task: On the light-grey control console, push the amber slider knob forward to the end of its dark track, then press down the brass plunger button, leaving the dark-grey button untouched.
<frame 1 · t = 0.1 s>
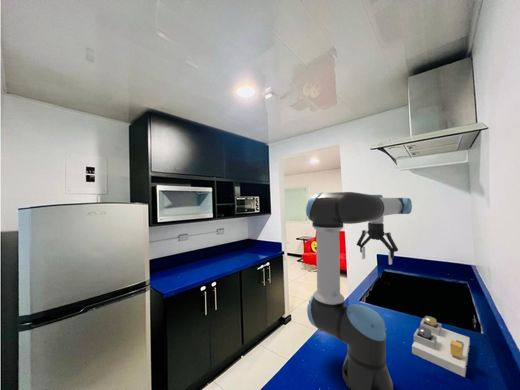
hand: (376, 261, 113), 28 cm above the counter, fingers open, 13 cm apart
grey button: (424, 333, 85), point 6 cm above the counter, slide at 0.0 cm
brass button: (430, 321, 93), point 6 cm above the counter, slide at 0.0 cm
console: (441, 348, 85), on the counter
slider knob: (456, 348, 77), point 5 cm above the counter, slide at 0.0 cm
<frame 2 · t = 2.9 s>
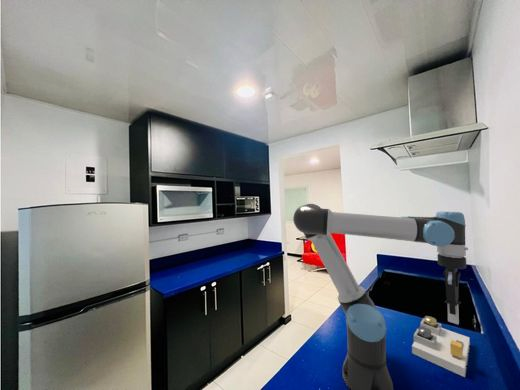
hand: (453, 322, 73), 18 cm above the counter, fingers closed
nothing on the counter moved.
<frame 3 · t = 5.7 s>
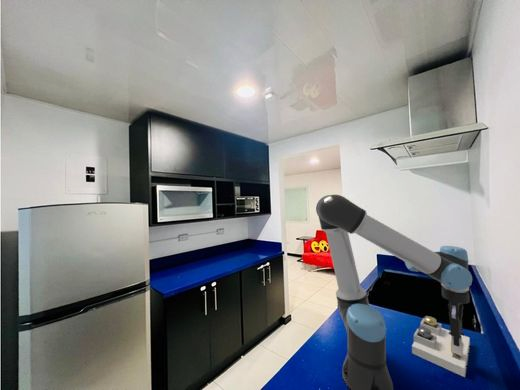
hand: (457, 352, 76), 5 cm above the counter, fingers closed
slider knob: (456, 347, 78), point 6 cm above the counter, slide at 1.4 cm, touching gripper
everything else where it was.
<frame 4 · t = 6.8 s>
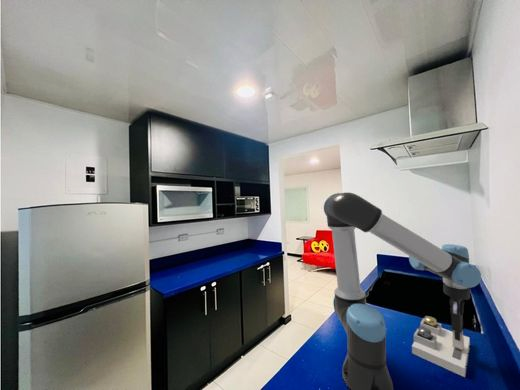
hand: (458, 346, 79), 4 cm above the counter, fingers closed
slider knob: (458, 341, 81), point 6 cm above the counter, slide at 6.1 cm, touching gripper
everything else where it was.
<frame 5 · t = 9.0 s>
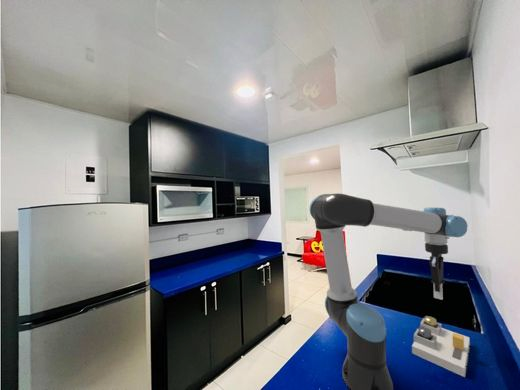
hand: (438, 298, 88), 19 cm above the counter, fingers closed
slider knob: (458, 341, 81), point 5 cm above the counter, slide at 6.2 cm
everything else where it was.
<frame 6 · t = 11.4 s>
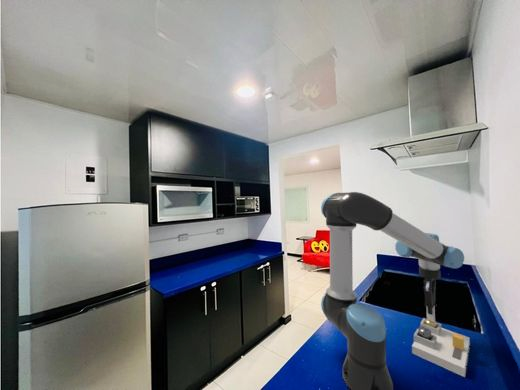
hand: (430, 320, 93), 7 cm above the counter, fingers closed
brass button: (430, 324, 93), point 5 cm above the counter, slide at 1.1 cm, touching gripper
everything else where it was.
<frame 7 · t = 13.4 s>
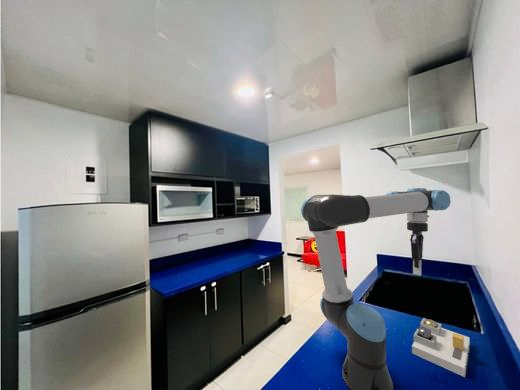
hand: (417, 274, 93), 28 cm above the counter, fingers closed
brass button: (430, 325, 93), point 5 cm above the counter, slide at 1.4 cm
everything else where it was.
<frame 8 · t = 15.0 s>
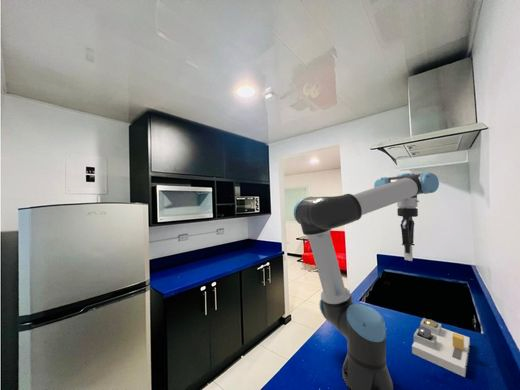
hand: (408, 259, 93), 34 cm above the counter, fingers closed
nothing on the counter moved.
at the end: slider knob slide at 6.2 cm; brass button slide at 1.4 cm; grey button slide at 0.0 cm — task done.
